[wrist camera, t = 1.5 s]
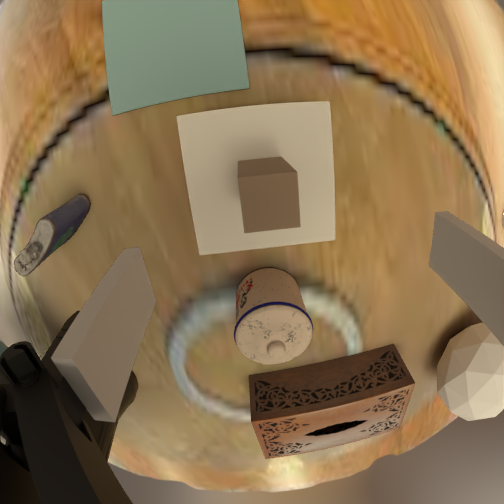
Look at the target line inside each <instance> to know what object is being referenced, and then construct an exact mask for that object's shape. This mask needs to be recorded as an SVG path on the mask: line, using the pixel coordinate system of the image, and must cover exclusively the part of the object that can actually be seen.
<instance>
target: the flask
mask: <svg viewBox="0 0 504 504" xmlns="http://www.w3.org/2000/svg"><path fill="white" fill-rule="evenodd" d="M90 204H91V203H90V200H89V198H88V197H87V196H85V195H84V194H80V195H77V196H76V197H74V198H73V199H71V200H70V201H68V202H67V203H65V204H64V205H62V206H60V207H59V208H57V209H56V210H54V211H52V212H51V213H49V214H48V215H46V216H44V217H43V218H41V219H40V220H39V222H37V225H36V228H35V230H34V233H33V235H32V237H31V239H30V241H29V243H28V244H27V246H26V247H25V249H23V250H22V251H20V255H19V256H18V257H17V258H16V259H15V260H14V265H15V270H16V272H18V274H20V275H21V276H27V275H28V274H30V273H31V272H32V271H33V270H34V269H35V268H36V267H38V266H39V265H40V264H41V262H43V261H44V260H45V259H46V258H47V257H48V256H49V255H51V254H52V253H53V252H54V251H55V250H56V249H57V248H59V247H60V246H61V245H63V244H64V243H65V242H67V241H68V240H69V239H70V238H71V237H72V236H73V235H74V233H75V232H76V231H77V229H78V228H79V226H80V225H81V223H82V222H83V220H84V218H85V217H86V215H87V214H88V211H89V209H90Z"/></svg>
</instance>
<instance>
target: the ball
mask: <svg viewBox="0 0 504 504" xmlns="http://www.w3.org/2000/svg"><path fill="white" fill-rule="evenodd" d="M437 393H438V395H439V396H440V397H441V399H442V400H443V402H444V403H445V405H446V406H447V407H448V409H449V410H450V412H452V413H454V414H456V415H458V416H460V417H462V418H463V419H465V420H467V421H471V420H477V419H484V418H490V417H496V416H497V415H498V414H499V413H500V412H501V411H502V410H503V409H504V346H503V345H502V344H501V343H500V342H499V340H498V339H497V338H496V337H495V336H494V334H493V333H492V332H491V331H490V330H489V329H488V327H487V326H486V325H485V324H484V323H483V322H482V323H479V324H475V325H471V326H469V327H467V328H465V329H464V330H463V331H461V332H460V333H458V334H457V335H456V336H454V337H453V338H451V339H450V340H449V342H448V344H447V347H446V349H445V351H444V353H443V355H442V357H441V359H440V361H439V363H438V365H437Z"/></svg>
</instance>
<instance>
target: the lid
mask: <svg viewBox="0 0 504 504" xmlns="http://www.w3.org/2000/svg"><path fill="white" fill-rule="evenodd" d="M177 124H178V131H179V138H180V145H181V151H182V158H183V164H184V171H185V177H186V183H187V189H188V195H189V201H190V206H191V212H192V218H193V223H194V229H195V234H196V239H197V245H198V250H199V255H208V254H217V253H226V252H234V251H243V250H252V249H261V248H269V247H278V246H287V245H296V244H305V243H314V242H322V241H331V240H335V184H334V159H333V140H332V125H331V112H330V101H322V102H293V103H277V104H264V105H253V106H243V107H234V108H226V109H219V110H211V111H205V112H198V113H192V114H186V115H181V116H177Z"/></svg>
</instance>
